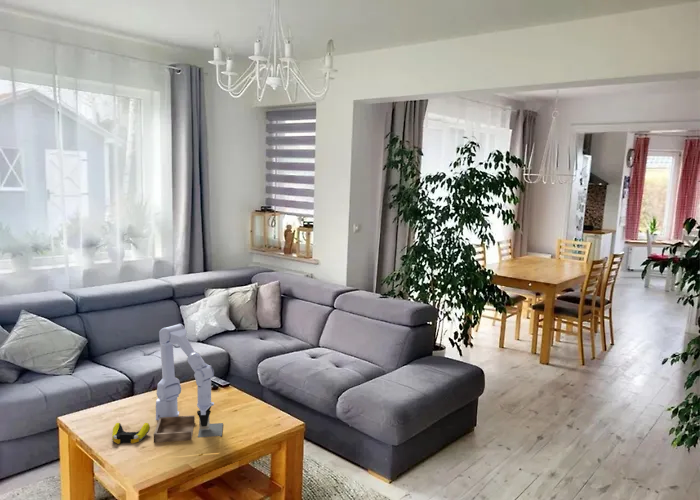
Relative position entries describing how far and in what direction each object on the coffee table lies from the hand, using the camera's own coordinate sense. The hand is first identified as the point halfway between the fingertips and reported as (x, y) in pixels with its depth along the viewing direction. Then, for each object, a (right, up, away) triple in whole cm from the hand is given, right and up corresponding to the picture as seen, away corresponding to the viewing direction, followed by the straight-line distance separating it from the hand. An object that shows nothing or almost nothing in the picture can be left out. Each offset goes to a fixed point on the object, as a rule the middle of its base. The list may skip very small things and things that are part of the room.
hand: (204, 423), depth 231 cm
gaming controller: (-30, -4, -8) cm, 31 cm away
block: (0, -2, 0) cm, 2 cm away
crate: (-12, -4, -2) cm, 13 cm away
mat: (+2, -4, +1) cm, 4 cm away
